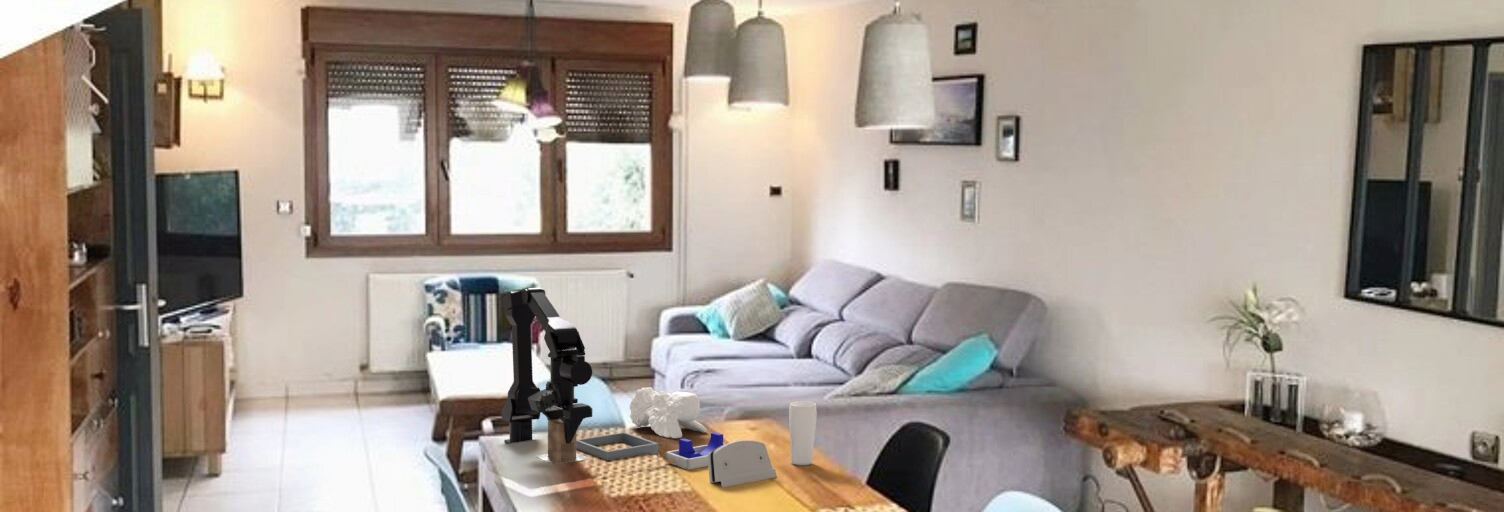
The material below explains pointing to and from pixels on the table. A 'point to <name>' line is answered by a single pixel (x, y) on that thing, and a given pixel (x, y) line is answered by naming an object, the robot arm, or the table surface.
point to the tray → (636, 448)
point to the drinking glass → (802, 431)
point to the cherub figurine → (666, 411)
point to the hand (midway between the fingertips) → (562, 441)
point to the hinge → (740, 463)
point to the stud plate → (553, 461)
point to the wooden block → (559, 442)
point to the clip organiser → (686, 462)
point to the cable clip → (715, 442)
